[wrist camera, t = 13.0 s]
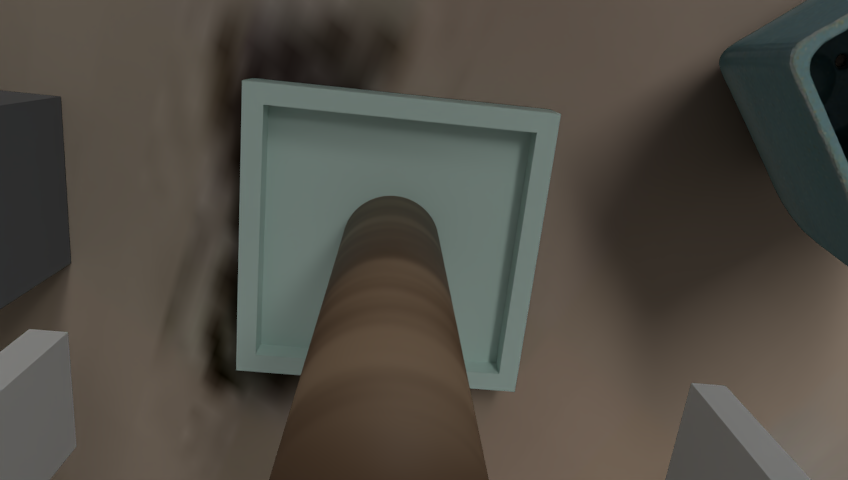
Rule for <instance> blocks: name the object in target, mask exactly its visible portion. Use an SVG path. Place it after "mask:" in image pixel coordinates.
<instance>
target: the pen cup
mask: <svg viewBox="0 0 848 480" xmlns="http://www.w3.org/2000/svg"><path fill="white" fill-rule="evenodd" d="M70 263H71V256H70V240H69V224H68V207H67V191H66V175H65V159H64V142H63V126H62V110H61V97H60V96H50V95H40V94H30V93H20V92H11V91H1V90H0V309H1V308H3V307H4V306H6V305H7V304H9V303H10V302H12V301H13V300H15V299H16V298H18V297H20V296H21V295H23V294H24V293H26V292H27V291H29V290H30V289H32V288H33V287H35V286H36V285H38V284H39V283H41V282H43V281H44V280H46V279H47V278H49V277H50V276H52V275H53V274H55V273H56V272H58V271H59V270H61V269H62V268H64V267H65V266H67V265H69V264H70Z"/></svg>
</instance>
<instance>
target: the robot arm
mask: <svg viewBox="0 0 848 480" xmlns="http://www.w3.org/2000/svg"><path fill="white" fill-rule="evenodd" d="M75 448H76V433H75V420H74V406H73V393H72V379H71V366H70V352H69V339H68V332H60V331H48V330H36V329H29V330H27V331H26V332H25V333H24V334H22V335H21V336H20V337H18V338H17V339H16V340H15V341H13V342H12V343H11V344H9V345H8V346H7V347H6V348H4V349H3V350H2V351H0V480H50V479H51V478H52V476H53V475H54V474H55V473H56V471H57V470H58V469H59V468H60V466H61V465H62V464H63V463H64V461H65V460H66V459H67V458H68V456H69V455H70V454H71V453H72V451H73V450H74V449H75ZM665 480H811V479H810V478H809V477H808V476H807V474H806V473H805V472H804V471H803V470H802V469H801V468H800V467H799V466H798V465H797V464H796V462H795V461H794V460H793V459H792V458H791V457H790V456H789V455H788V454H787V453H786V451H785V450H784V449H783V448H782V447H781V446H780V445H779V444H778V443H777V442H776V441H775V439H774V438H773V437H772V436H771V435H770V434H769V433H768V432H767V431H766V430H765V428H764V427H763V426H762V425H761V424H760V423H759V422H758V421H757V420H756V419H755V418H754V416H753V415H752V414H751V413H750V412H749V411H748V410H747V409H746V408H745V407H744V405H743V404H742V403H741V402H740V401H739V400H738V399H737V398H736V397H735V396H734V394H733V393H732V392H731V391H730V390H729V389H728V388H727V387H726V386H723V385H711V384H698V383H691V386H690V390H689V393H688V397H687V401H686V404H685V408H684V412H683V416H682V419H681V423H680V427H679V431H678V434H677V438H676V442H675V446H674V449H673V453H672V457H671V460H670V464H669V468H668V472H667V475H666V479H665Z"/></svg>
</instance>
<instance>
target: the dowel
mask: <svg viewBox="0 0 848 480" xmlns="http://www.w3.org/2000/svg"><path fill="white" fill-rule="evenodd" d="M269 480H489V479H488V474H487V469H486V465H485V460H484V455H483V450H482V445H481V440H480V435H479V431H478V426H477V421H476V416H475V411H474V406H473V401H472V397H471V392H470V387H469V382H468V377H467V372H466V367H465V363H464V358H463V353H462V348H461V343H460V338H459V333H458V328H457V324H456V319H455V314H454V309H453V304H452V299H451V294H450V290H449V285H448V280H447V275H446V270H445V265H444V260H443V256H442V251H441V246H440V241H439V236H438V232H437V228H436V225H435V223H434V221H433V219H432V217H431V216H430V215H429V213H428V212H427V211H426V210H425V209H424V208H423V207H421V206H420V205H419V204H417V203H416V202H414V201H412V200H410V199H407V198H404V197H399V196H382V197H377V198H374V199H372V200H369V201H367V202H366V203H364V204H362V205H361V206H360V207H359V208H357V209H356V210H355V211H354V213H353V214H352V215H351V217H350V218H349V220H348V222H347V224H346V226H345V229H344V233H343V236H342V239H341V243H340V246H339V249H338V253H337V256H336V259H335V263H334V266H333V269H332V273H331V276H330V279H329V283H328V286H327V289H326V293H325V296H324V299H323V303H322V306H321V309H320V313H319V316H318V319H317V323H316V326H315V329H314V333H313V336H312V339H311V343H310V346H309V349H308V353H307V356H306V359H305V362H304V366H303V369H302V372H301V376H300V379H299V382H298V386H297V389H296V392H295V396H294V399H293V402H292V406H291V409H290V412H289V416H288V419H287V422H286V426H285V429H284V432H283V436H282V439H281V442H280V446H279V449H278V452H277V456H276V459H275V462H274V466H273V469H272V472H271V476H270V479H269Z"/></svg>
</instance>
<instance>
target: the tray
mask: <svg viewBox="0 0 848 480" xmlns="http://www.w3.org/2000/svg"><path fill="white" fill-rule="evenodd" d="M560 117H561V114H560V113H558V112H555V111H553V110H551V109H542V108H532V107H523V106H513V105H504V104H494V103H485V102H476V101H466V100H457V99H447V98H438V97H428V96H419V95H409V94H400V93H390V92H381V91H372V90H362V89H353V88H343V87H334V86H324V85H315V84H305V83H296V82H286V81H277V80H267V79H258V78H251V79H246V80H242V107H241V156H240V204H239V253H238V302H237V350H236V370H239V371H252V372H265V373H278V374H291V375H301V372H302V369H303V366H304V362H305V359H306V356H307V353H308V349H309V346H310V343H311V339H312V336H313V333H314V329H315V326H316V323H317V319H318V316H319V313H320V309H321V306H322V303H323V299H324V296H325V293H326V289H327V286H328V283H329V279H330V276H331V273H332V269H333V266H334V263H335V259H336V256H337V253H338V249H339V246H340V243H341V239H342V236H343V233H344V229H345V226H346V224H347V222H348V220H349V218H350V217H351V215H352V214H353V213H354V211H355V210H356V209H357V208H359V207H360V206H361V205H362V204H364V203H366V202H367V201H369V200H372V199H374V198H377V197H382V196H399V197H404V198H407V199H410V200H412V201H414V202H416V203H417V204H419V205H420V206H421V207H423V208H424V209H425V210H426V211H427V212H428V213H429V215H430V216H431V217H432V219H433V221H434V223H435V225H436V228H437V232H438V236H439V241H440V246H441V251H442V256H443V260H444V265H445V270H446V275H447V280H448V285H449V290H450V294H451V299H452V304H453V309H454V314H455V319H456V324H457V328H458V333H459V338H460V343H461V348H462V353H463V358H464V363H465V367H466V372H467V377H468V382H469V387H470V388H472V389H485V390H498V391H511V392H515V387H516V381H517V375H518V369H519V363H520V357H521V351H522V345H523V339H524V333H525V327H526V321H527V315H528V309H529V303H530V297H531V291H532V285H533V279H534V273H535V267H536V261H537V255H538V249H539V243H540V237H541V231H542V225H543V219H544V213H545V207H546V201H547V195H548V189H549V183H550V177H551V171H552V165H553V159H554V153H555V147H556V141H557V135H558V129H559V123H560Z"/></svg>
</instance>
